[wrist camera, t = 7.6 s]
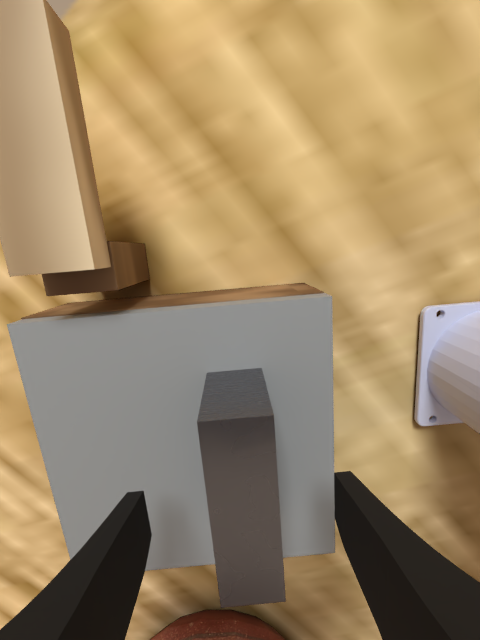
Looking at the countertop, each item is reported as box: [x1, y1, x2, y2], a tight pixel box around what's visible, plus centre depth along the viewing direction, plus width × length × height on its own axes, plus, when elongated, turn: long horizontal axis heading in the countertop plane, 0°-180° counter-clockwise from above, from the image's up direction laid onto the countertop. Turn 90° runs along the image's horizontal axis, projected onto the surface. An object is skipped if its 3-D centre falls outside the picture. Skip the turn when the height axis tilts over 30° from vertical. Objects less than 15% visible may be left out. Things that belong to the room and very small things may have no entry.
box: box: [21, 241, 324, 319], centre depth 17 cm, size 14×17×5 cm
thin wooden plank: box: [0, 0, 111, 277], centre depth 10 cm, size 3×8×2 cm, turn 5°
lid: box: [7, 293, 335, 608], centre depth 13 cm, size 14×14×5 cm
